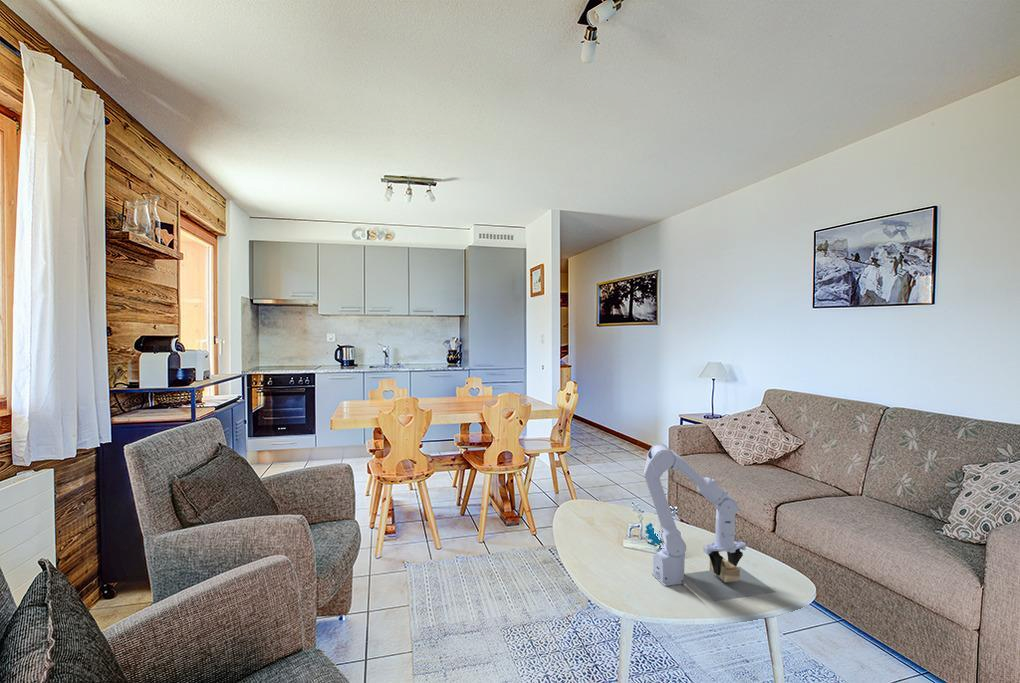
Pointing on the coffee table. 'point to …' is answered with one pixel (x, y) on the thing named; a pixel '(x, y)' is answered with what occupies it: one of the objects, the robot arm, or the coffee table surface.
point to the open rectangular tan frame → (727, 571)
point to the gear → (652, 534)
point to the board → (728, 585)
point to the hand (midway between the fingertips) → (724, 572)
